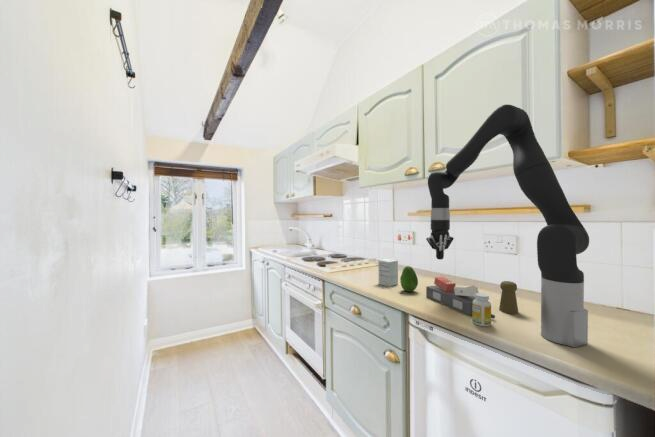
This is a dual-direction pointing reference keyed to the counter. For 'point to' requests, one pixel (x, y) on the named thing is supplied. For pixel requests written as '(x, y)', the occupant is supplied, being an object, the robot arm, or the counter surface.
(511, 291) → the cork
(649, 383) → the counter surface
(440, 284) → the rocker
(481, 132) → the robot arm
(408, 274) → the avocado
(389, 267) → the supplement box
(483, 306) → the supplement bottle
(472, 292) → the rocker
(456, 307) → the power strip
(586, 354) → the counter surface
